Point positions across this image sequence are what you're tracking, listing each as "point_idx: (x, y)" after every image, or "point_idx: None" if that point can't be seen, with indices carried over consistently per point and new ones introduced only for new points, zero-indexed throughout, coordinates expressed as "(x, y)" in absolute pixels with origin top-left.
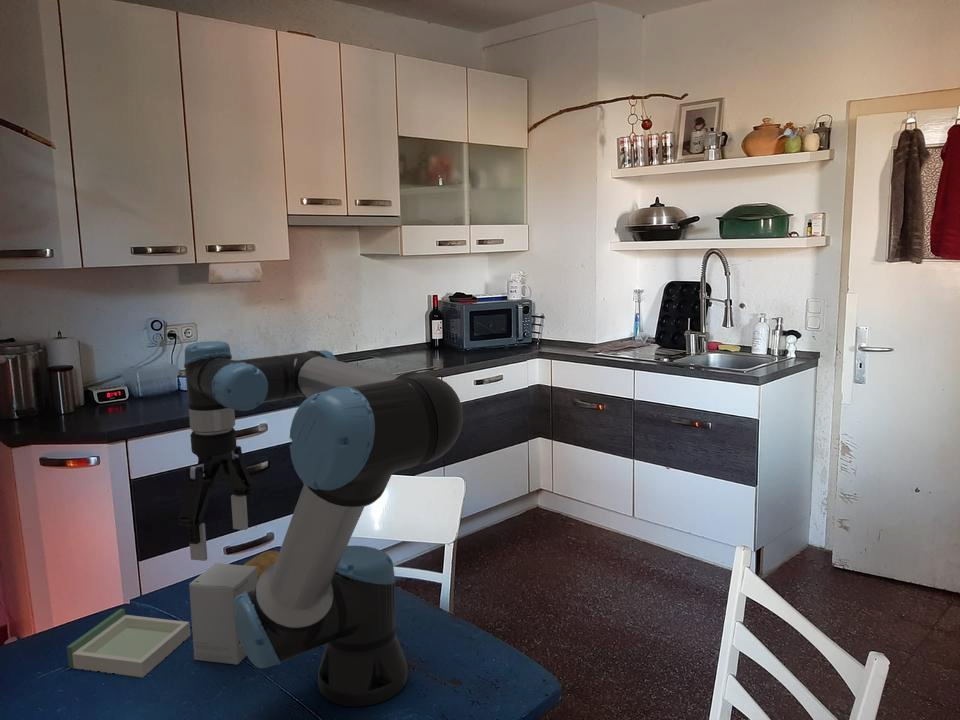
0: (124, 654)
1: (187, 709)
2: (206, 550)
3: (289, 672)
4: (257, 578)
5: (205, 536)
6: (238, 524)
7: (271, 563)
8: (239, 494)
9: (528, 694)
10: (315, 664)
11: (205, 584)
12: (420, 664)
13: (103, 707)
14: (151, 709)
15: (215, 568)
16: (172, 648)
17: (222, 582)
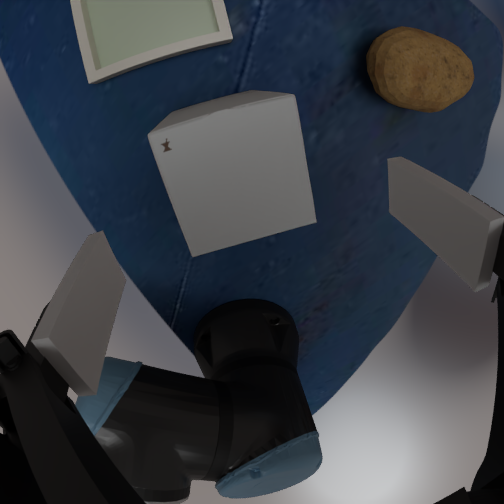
0: (122, 7)
1: (85, 209)
2: (118, 301)
3: (217, 263)
4: (389, 94)
5: (105, 345)
6: (399, 191)
7: (435, 98)
8: (499, 257)
9: None
10: (248, 279)
11: (167, 181)
12: None
13: (31, 107)
14: (59, 167)
15: (260, 126)
16: (175, 55)
17: (197, 216)
